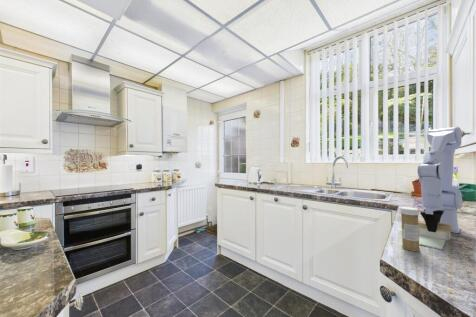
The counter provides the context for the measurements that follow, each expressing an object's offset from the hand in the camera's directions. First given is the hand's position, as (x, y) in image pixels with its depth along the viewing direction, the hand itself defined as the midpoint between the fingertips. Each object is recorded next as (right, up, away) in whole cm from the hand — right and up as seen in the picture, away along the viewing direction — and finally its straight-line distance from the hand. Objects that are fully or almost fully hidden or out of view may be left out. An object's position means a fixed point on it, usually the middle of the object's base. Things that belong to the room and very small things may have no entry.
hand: (433, 230), depth 76 cm
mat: (-7, -2, -6) cm, 9 cm away
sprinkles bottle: (-18, -3, -11) cm, 21 cm away
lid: (0, +1, 0) cm, 1 cm away
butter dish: (0, -2, 0) cm, 2 cm away
